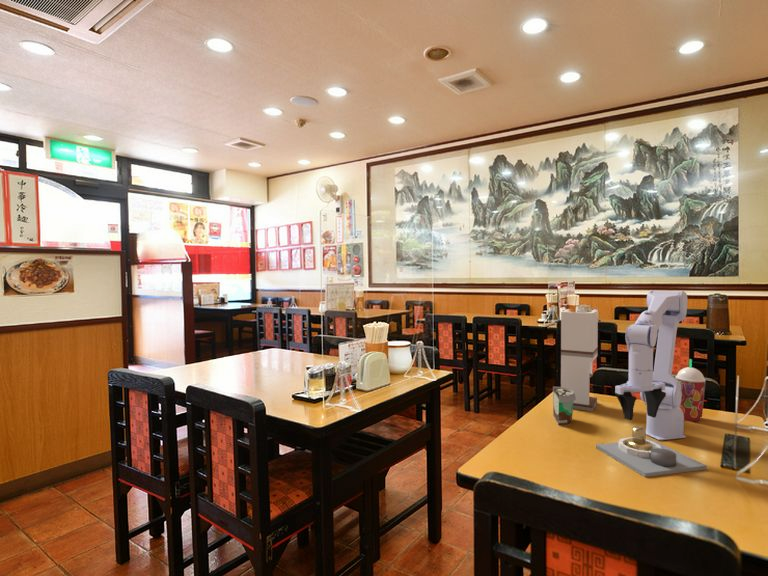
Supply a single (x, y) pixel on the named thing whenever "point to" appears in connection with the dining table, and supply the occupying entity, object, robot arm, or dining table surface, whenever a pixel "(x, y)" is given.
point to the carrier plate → (646, 462)
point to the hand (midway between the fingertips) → (640, 417)
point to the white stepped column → (579, 355)
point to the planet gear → (639, 439)
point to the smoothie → (691, 392)
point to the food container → (563, 405)
